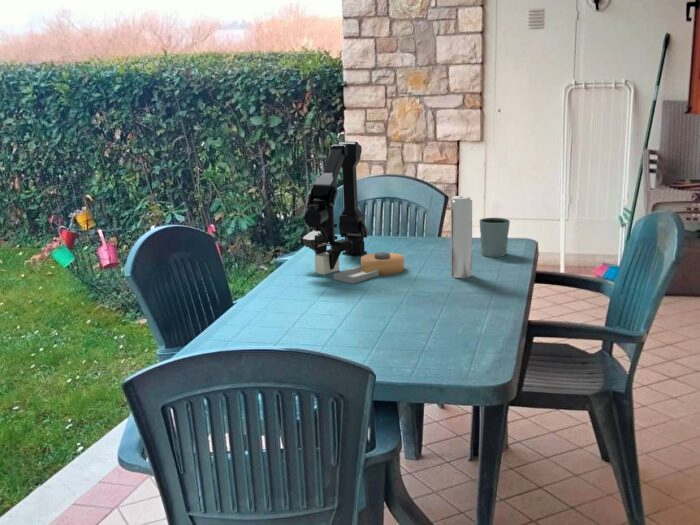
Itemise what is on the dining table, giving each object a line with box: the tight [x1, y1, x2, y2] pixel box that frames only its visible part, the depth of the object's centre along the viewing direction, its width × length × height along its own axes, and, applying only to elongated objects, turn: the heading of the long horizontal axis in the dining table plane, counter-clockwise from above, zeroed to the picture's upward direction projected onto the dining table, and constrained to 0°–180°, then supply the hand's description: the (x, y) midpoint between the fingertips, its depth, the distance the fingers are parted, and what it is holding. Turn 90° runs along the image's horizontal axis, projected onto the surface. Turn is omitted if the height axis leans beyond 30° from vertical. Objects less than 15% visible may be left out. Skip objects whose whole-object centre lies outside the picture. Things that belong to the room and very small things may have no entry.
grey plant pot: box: [479, 217, 511, 258], centre depth 277 cm, size 10×10×12 cm
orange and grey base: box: [333, 251, 405, 284], centre depth 258 cm, size 14×25×5 cm, turn 136°
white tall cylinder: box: [450, 195, 473, 279], centre depth 249 cm, size 6×6×25 cm
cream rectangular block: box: [314, 252, 340, 276], centre depth 262 cm, size 4×7×6 cm, turn 136°
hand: (327, 268), depth 263 cm, fingers closed on cream rectangular block, 4 cm apart
